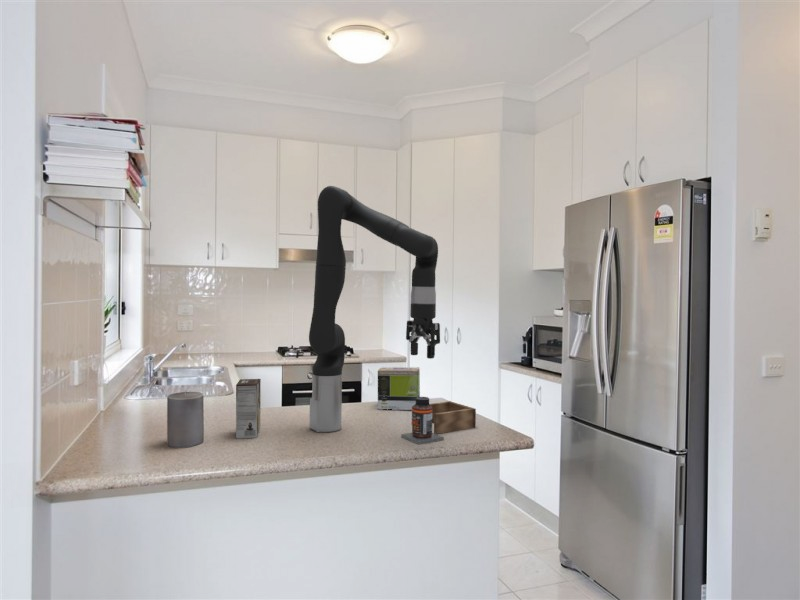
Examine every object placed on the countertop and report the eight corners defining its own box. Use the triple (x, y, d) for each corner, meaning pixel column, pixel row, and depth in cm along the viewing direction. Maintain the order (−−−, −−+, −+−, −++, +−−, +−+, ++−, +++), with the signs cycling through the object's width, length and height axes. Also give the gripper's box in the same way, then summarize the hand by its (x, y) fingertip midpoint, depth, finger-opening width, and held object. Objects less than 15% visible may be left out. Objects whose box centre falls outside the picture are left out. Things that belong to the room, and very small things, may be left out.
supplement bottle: (407, 435, 162) (408, 397, 162) (422, 432, 166) (422, 395, 165) (421, 439, 157) (421, 400, 157) (436, 436, 161) (436, 398, 161)
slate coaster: (418, 444, 155) (418, 441, 155) (401, 436, 163) (401, 434, 163) (443, 439, 160) (443, 437, 160) (425, 432, 168) (425, 430, 168)
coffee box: (239, 430, 168) (239, 378, 168) (260, 430, 169) (261, 378, 169) (235, 438, 159) (235, 384, 159) (258, 438, 160) (258, 383, 160)
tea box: (419, 405, 207) (420, 366, 207) (418, 411, 197) (418, 370, 197) (380, 404, 209) (381, 365, 208) (376, 410, 199) (377, 369, 198)
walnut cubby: (436, 434, 167) (436, 414, 167) (411, 424, 178) (411, 406, 178) (475, 427, 175) (475, 408, 175) (449, 418, 186) (449, 401, 186)
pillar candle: (174, 438, 159) (173, 387, 158) (208, 437, 160) (207, 386, 159) (161, 448, 149) (161, 394, 149) (198, 448, 150) (198, 394, 149)
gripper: (447, 303, 158) (446, 358, 158) (419, 301, 170) (419, 353, 170) (426, 303, 154) (425, 360, 154) (399, 301, 166) (398, 354, 166)
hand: (422, 356), depth 162 cm, fingers open, 8 cm apart
